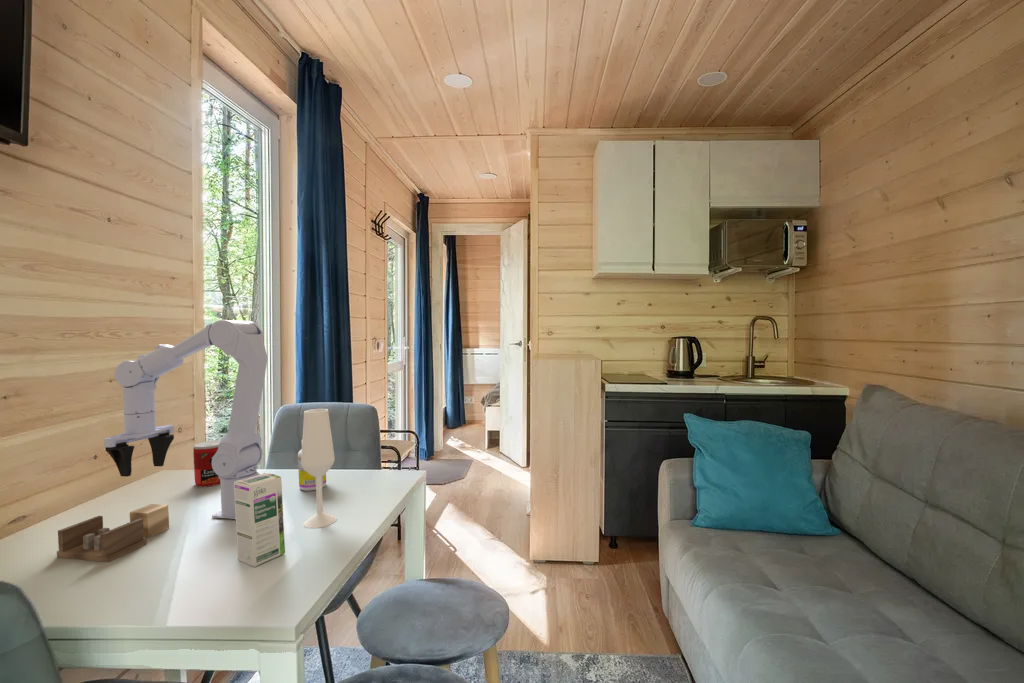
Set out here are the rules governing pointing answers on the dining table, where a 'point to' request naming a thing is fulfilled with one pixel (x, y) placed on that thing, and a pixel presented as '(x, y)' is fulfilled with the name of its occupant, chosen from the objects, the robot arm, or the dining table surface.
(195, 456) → the canned food
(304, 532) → the dining table surface
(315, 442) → the champagne flute
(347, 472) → the dining table surface
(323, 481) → the supplement bottle
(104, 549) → the stand
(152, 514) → the light wooden block
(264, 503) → the syrup box
